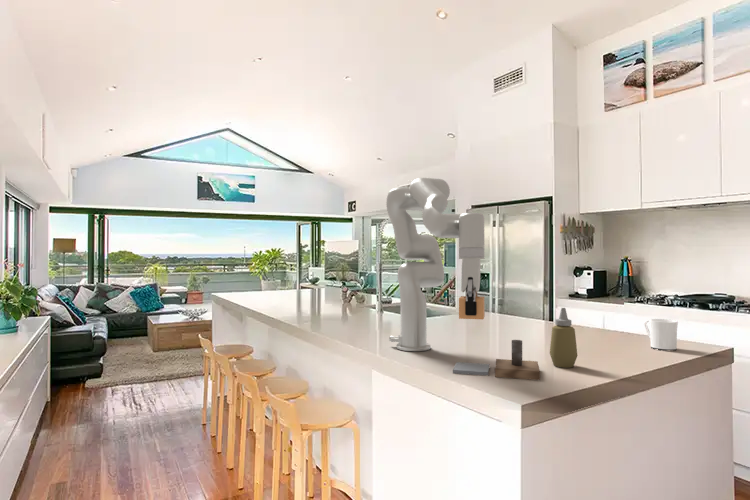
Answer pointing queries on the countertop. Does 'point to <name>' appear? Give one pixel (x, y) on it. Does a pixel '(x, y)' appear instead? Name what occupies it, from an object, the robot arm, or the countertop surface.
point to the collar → (480, 308)
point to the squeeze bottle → (563, 342)
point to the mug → (662, 333)
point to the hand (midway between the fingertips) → (471, 313)
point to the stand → (517, 365)
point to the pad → (471, 368)
